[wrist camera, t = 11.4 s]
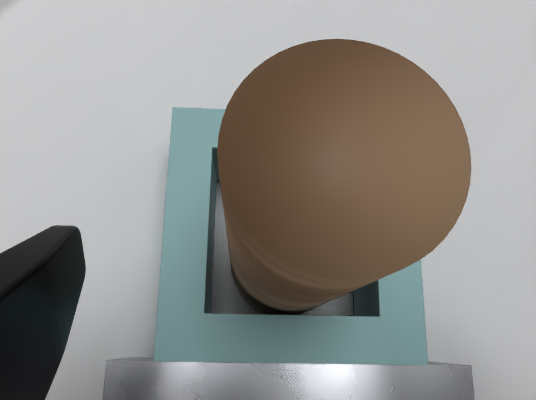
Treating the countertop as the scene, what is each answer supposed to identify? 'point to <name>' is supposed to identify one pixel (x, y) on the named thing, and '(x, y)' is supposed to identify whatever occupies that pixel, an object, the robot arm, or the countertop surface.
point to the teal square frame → (256, 325)
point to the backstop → (284, 381)
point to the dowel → (336, 172)
